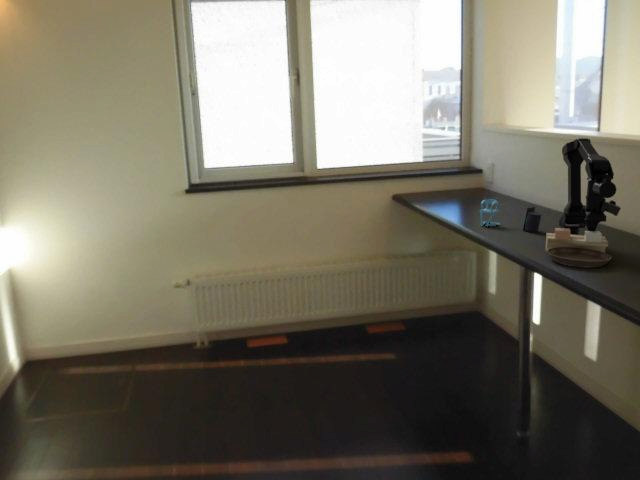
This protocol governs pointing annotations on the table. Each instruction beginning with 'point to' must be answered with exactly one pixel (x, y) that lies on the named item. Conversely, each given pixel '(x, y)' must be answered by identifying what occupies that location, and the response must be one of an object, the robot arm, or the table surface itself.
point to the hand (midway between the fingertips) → (591, 236)
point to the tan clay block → (562, 233)
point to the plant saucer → (578, 257)
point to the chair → (489, 212)
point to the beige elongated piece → (575, 242)
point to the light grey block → (592, 236)
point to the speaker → (532, 220)
